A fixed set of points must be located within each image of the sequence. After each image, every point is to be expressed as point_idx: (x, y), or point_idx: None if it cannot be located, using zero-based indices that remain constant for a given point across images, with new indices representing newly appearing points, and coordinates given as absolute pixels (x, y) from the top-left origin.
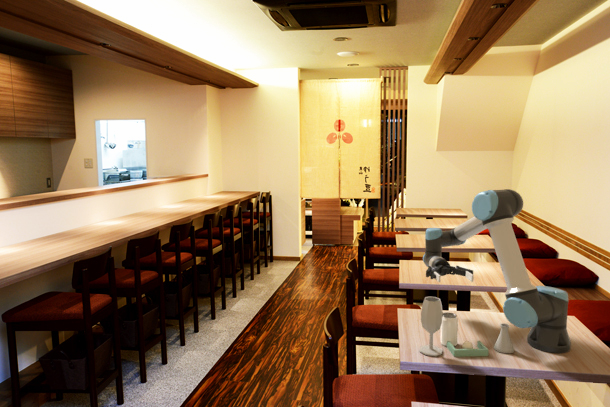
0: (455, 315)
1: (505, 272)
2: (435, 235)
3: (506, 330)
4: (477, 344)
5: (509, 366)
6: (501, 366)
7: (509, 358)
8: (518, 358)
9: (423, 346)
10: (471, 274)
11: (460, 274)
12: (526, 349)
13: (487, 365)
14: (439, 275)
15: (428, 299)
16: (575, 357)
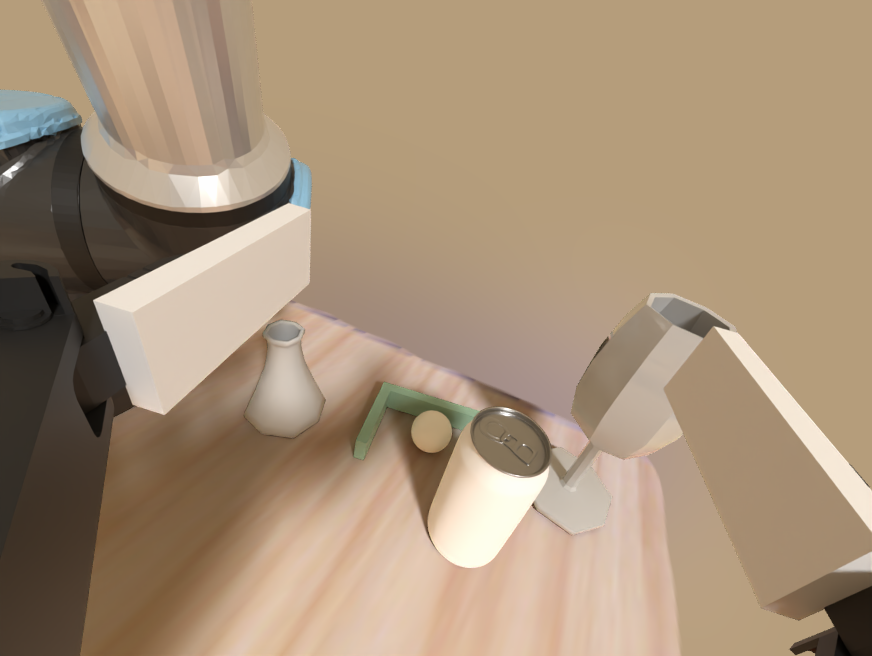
0: (471, 433)
1: (250, 28)
2: None
3: (290, 337)
4: (365, 450)
5: (372, 344)
6: (392, 351)
7: (330, 367)
8: (304, 358)
9: (593, 518)
10: (280, 217)
11: (84, 550)
12: (206, 382)
13: (425, 366)
14: (729, 339)
15: None
16: None
